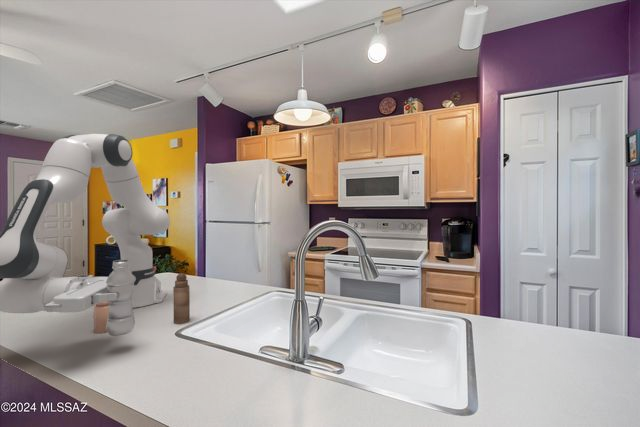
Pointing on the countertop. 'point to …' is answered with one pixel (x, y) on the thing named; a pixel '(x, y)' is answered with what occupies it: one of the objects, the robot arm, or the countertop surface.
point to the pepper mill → (181, 300)
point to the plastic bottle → (120, 299)
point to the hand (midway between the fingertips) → (124, 291)
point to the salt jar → (101, 317)
